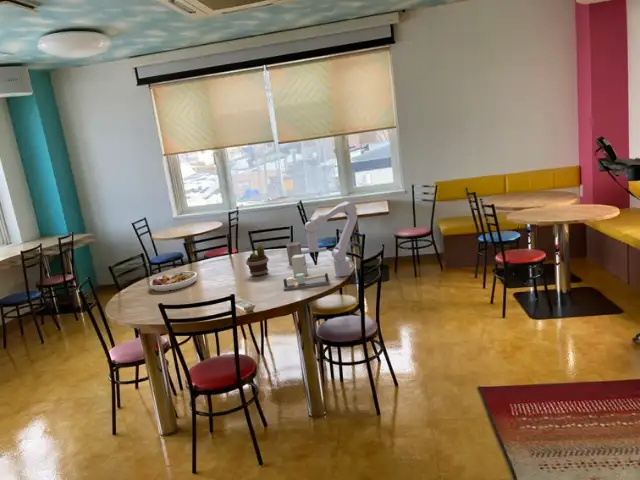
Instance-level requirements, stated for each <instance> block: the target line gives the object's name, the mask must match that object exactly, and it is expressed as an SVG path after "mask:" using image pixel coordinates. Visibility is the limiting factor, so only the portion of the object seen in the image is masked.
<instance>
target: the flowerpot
mask: <svg viewBox="0 0 640 480" xmlns="http://www.w3.org/2000/svg"><path fill="white" fill-rule="evenodd" d="M255 251H256V253H255V252H254V253H250V254H249V257H247V259H246V261H245V264H246V266H248V269H249V274H250V276H252V277H261V276H265V275H267V274H268V272H269V268H268V262H269V260H270V259H269V257H268V256H267V255H266V253H265V252H266V249H265V247H264V246H263V245H262V244H261V243H260V244H258V245H257V247H256V249H255Z"/></svg>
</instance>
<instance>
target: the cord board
mask: <svg viewBox="0 0 640 480" xmlns="http://www.w3.org/2000/svg"><path fill="white" fill-rule="evenodd" d="M304 280H305V282H304V283H299V284H297V278H294V276H293V277H292V276H291V277H287V278H283V292H284V291H285V292H286V291H292V290H300V289H308V288H315V287H323V286H330V278H329V274H328V272H325V273H324V274H320V275H313V276H305V277H304Z"/></svg>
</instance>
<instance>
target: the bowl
mask: <svg viewBox="0 0 640 480" xmlns="http://www.w3.org/2000/svg"><path fill="white" fill-rule="evenodd" d="M197 274H198V273H197V272H196V271H187V270H186V271H178V272H173V273H168V274H164V275H162V276H158V277H156V278H153V279H152V280H151V281H150V282H149V285H150V287H151V289H152V290H154V291H156V292H170V291H169V290H172V291H175V290H176V289H177V290H181V289H183V288H186V287H189V286H191V285H192V284H195V283H194V282H196V280H197V278H198V275H197ZM180 288H181V289H180ZM177 290H176V291H177Z"/></svg>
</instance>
